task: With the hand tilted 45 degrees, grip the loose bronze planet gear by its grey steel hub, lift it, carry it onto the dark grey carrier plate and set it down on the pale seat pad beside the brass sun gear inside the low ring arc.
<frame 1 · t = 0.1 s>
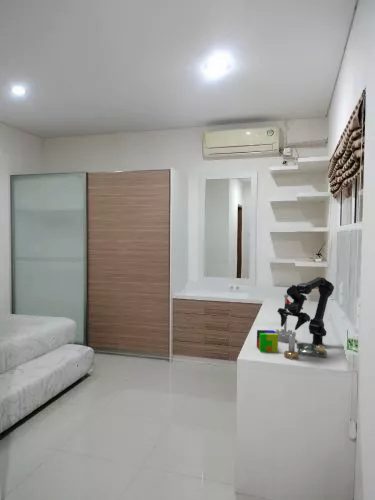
hand: (288, 328, 212), 15 cm above the countertop, tool tilted 35°, fingers open, 9 cm apart
flag stand: (284, 340, 242), on the countertop
puzzle toy: (266, 349, 221), on the countertop
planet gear: (291, 357, 207), on the countertop
carrier plate: (311, 353, 215), on the countertop
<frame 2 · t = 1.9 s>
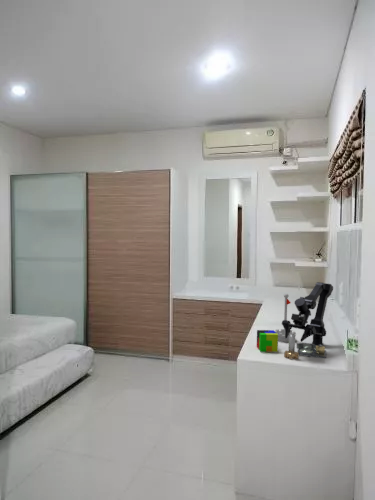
hand: (293, 339, 208), 9 cm above the countertop, tool tilted 45°, fingers open, 9 cm apart
nothing on the countertop moved.
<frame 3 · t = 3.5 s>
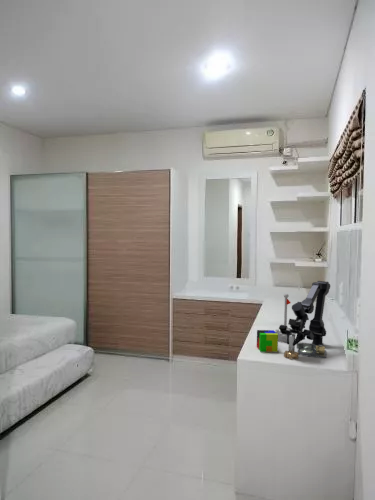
hand: (290, 344, 206), 7 cm above the countertop, tool tilted 45°, fingers closed on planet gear, 3 cm apart
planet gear: (291, 357, 207), on the countertop, touching gripper
everything else where it was.
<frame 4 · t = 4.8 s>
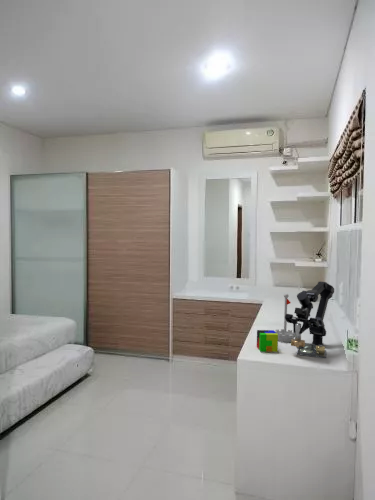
hand: (297, 333, 209), 13 cm above the countertop, tool tilted 45°, fingers closed on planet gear, 3 cm apart
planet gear: (297, 345, 211), point 6 cm above the countertop, touching gripper
everything else where it was.
when the fingers open (9 cm above the countertop, at t = 6.5 s): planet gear drops 1 cm, resting on carrier plate.
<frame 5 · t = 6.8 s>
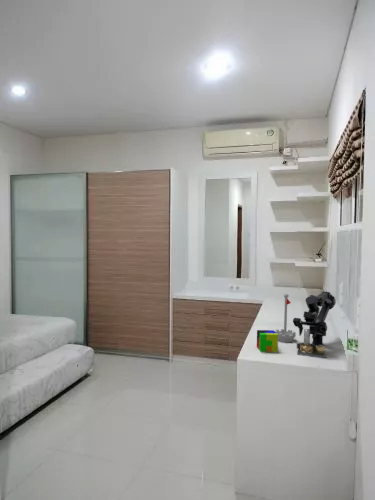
hand: (306, 336, 214), 10 cm above the countertop, tool tilted 45°, fingers open, 7 cm apart
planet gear: (306, 350, 216), point 1 cm above the countertop, touching carrier plate
everything else where it was.
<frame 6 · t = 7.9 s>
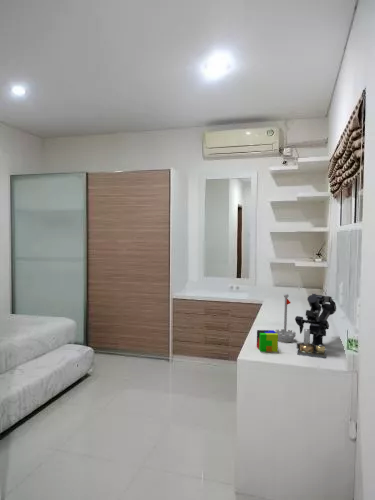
hand: (308, 334, 217), 10 cm above the countertop, tool tilted 45°, fingers open, 9 cm apart
nothing on the countertop moved.
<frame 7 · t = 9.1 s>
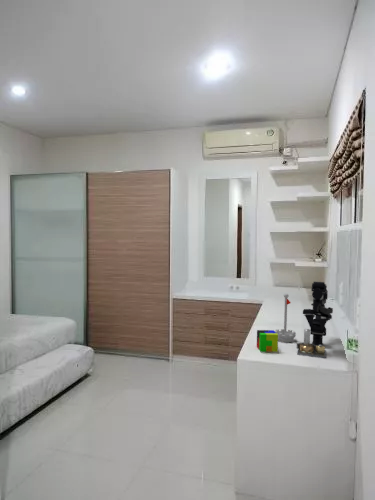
hand: (316, 328, 220), 13 cm above the countertop, tool tilted 20°, fingers open, 9 cm apart
nothing on the countertop moved.
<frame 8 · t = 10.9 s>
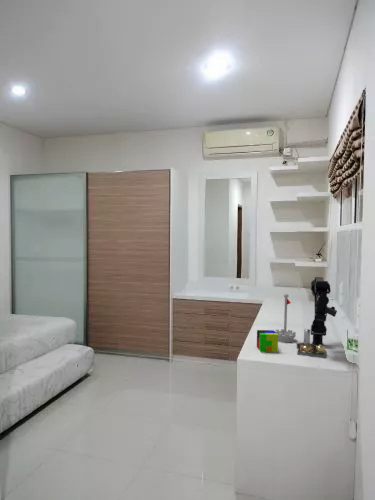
hand: (320, 329, 218), 13 cm above the countertop, tool pointing down, fingers open, 9 cm apart
nothing on the countertop moved.
at the end: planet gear 0.1 cm from the target spot, point 1.2 cm above the countertop; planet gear tilted 0°; the gripper is holding nothing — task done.
